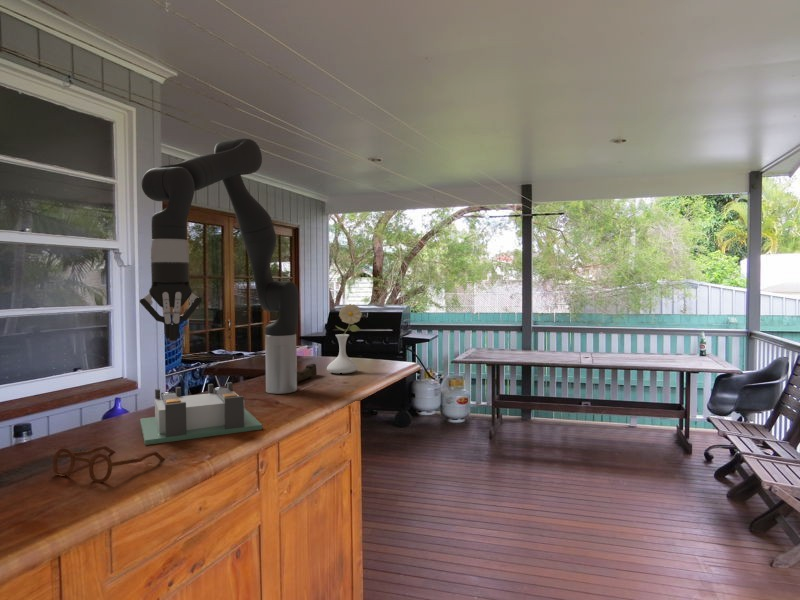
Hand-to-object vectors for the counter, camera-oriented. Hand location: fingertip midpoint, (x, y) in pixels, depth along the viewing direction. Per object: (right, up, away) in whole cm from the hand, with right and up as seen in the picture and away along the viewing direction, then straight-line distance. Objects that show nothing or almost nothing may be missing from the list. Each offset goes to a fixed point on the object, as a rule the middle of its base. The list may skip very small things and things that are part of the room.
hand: (172, 340), depth 117 cm
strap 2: (+9, -15, +10) cm, 20 cm away
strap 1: (-2, -15, +4) cm, 16 cm away
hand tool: (+17, -19, +64) cm, 69 cm away
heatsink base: (+3, -20, +8) cm, 22 cm away
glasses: (-3, -22, -19) cm, 29 cm away
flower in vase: (+30, -18, +78) cm, 85 cm away
